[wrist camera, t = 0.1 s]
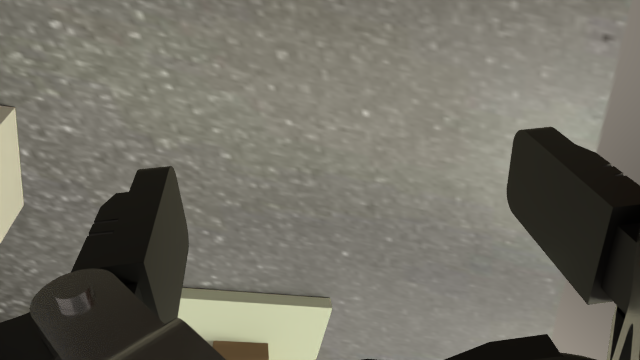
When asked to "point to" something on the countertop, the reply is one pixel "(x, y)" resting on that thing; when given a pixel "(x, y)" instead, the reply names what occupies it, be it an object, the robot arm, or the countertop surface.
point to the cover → (9, 170)
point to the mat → (258, 320)
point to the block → (242, 350)
